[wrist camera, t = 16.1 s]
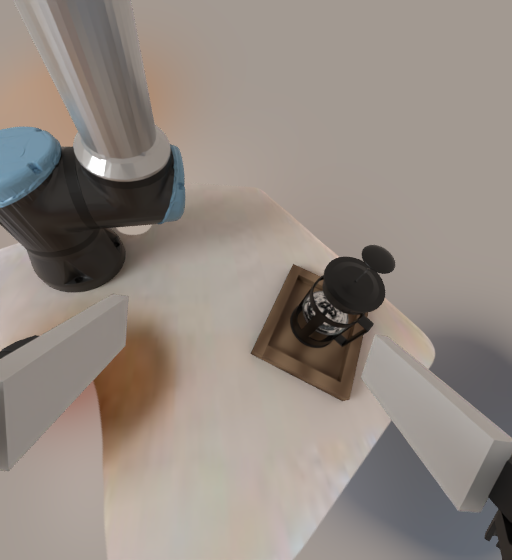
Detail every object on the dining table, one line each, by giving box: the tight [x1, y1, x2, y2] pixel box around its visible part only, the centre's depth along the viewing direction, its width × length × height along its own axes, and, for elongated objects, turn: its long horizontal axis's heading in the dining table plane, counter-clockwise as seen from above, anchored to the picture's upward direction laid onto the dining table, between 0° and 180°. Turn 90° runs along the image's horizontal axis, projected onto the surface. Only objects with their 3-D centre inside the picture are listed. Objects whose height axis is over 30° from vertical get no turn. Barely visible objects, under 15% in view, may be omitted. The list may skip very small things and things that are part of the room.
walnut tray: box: [251, 264, 368, 401], centre depth 49 cm, size 18×21×2 cm
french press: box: [290, 245, 395, 348], centre depth 39 cm, size 12×9×23 cm
